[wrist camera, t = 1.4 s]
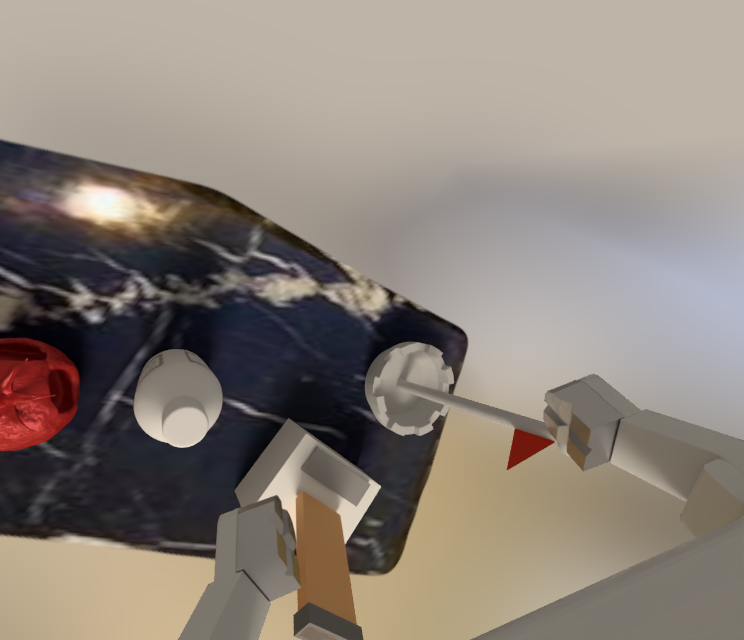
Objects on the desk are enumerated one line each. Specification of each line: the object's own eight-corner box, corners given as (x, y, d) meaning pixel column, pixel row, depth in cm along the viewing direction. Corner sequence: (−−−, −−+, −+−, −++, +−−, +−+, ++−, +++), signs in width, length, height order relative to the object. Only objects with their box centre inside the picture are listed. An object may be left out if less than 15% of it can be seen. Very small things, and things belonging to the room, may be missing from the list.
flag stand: (404, 322, 59) (603, 335, 32) (444, 386, 63) (649, 443, 37) (341, 379, 54) (515, 448, 28) (388, 444, 58) (579, 558, 32)
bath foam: (141, 414, 42) (130, 490, 25) (137, 351, 42) (121, 384, 25) (209, 404, 46) (241, 464, 28) (206, 345, 45) (236, 370, 28)
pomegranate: (16, 456, 38) (-25, 501, 30) (-78, 382, 34) (-153, 409, 26) (111, 387, 41) (98, 410, 33) (34, 313, 38) (-2, 318, 30)
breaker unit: (311, 534, 52) (333, 568, 46) (234, 490, 47) (246, 520, 41) (356, 466, 55) (383, 488, 49) (288, 418, 50) (308, 435, 44)
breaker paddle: (332, 523, 46) (349, 659, 33) (292, 499, 44) (293, 636, 31) (343, 514, 46) (364, 647, 33) (303, 488, 43) (309, 622, 31)
